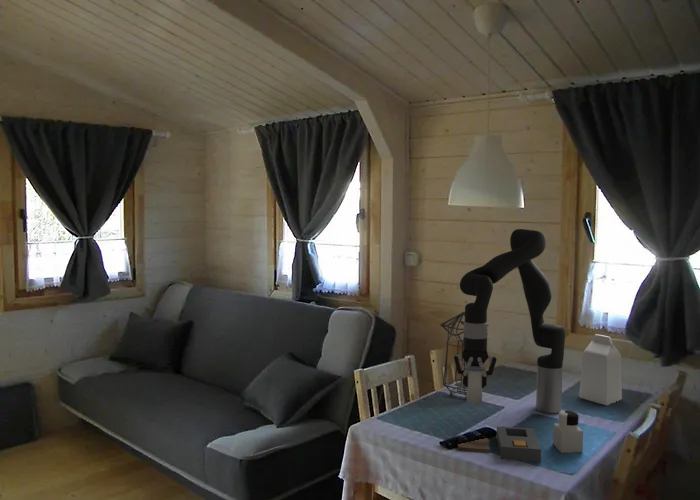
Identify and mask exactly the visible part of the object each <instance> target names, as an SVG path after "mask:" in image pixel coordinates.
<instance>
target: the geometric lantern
mask: <svg viewBox="0 0 700 500" xmlns="http://www.w3.org/2000/svg"><path fill="white" fill-rule="evenodd" d="M463 317H465V311H462V312H460V313H459V314H457V315H455V316H453V317H451V318H449V319H448V320H446V321H444V322H442V323H440V324H439V325H440V326H441V328H443V329H444V330H445V331H446V332H447V341H446V351H445V360H444V361H445V362H444V371H443V378H442V379H443V380H442V381H443V383H442V386H444V387H445V388H446V389H447V390H448V391H449V396H450V397H451V398H455V399H459V400H463V401H467V387H465V385H463V375H462V374H460V377H461V378H460V379H459V378H457V374H458V372H457V368H456V367H455V376H454V379H452V380H450V381H447V375H448V373H447V372H448V357H449V354H448V353H449V346H453V347H457V348H456V349H457V350H456V351H457V352H456V355H459V348H461V353H462V352H463V343H464V338H463V339H462V338H461V337H460V335H462V334H463V333H464V328H459V326H460V323H461V324H462V325H463V326H464V323H465V321H463V320H462V319H463ZM456 324H457V326H456ZM487 327H489V324H487ZM454 330H455V332H456V334H455V332H454ZM458 331H461V332H459V333H458ZM452 336H454V337H455V338H456V340H454V341H450V338H451V337H452ZM449 341H450V342H449ZM460 342H461V346H460ZM453 343H457V345H455V344H453ZM465 365H466V362H465V360H464V359H463V357H462V358H461V363H460V367H461V369H462V370H464V368H465ZM459 381H460V384H459V385H458V382H459ZM453 382H455V385H456V386H457V387H454V386H451V385H447V384H450V383H453ZM462 385H463V387H462ZM454 390H456V391H454ZM454 394H460V395H464V396H465V398H462V397H458V396H453V395H454Z"/></svg>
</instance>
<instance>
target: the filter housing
mask: <svg viewBox="0 0 700 500" xmlns="http://www.w3.org/2000/svg"><path fill="white" fill-rule="evenodd" d="M495 436H496V441H497V448H498V451H499V452H498V453H499V457H500V460H507V461H508V460H510V461H522V462H523V461H525V462H539V463H541V462H542V449H541V445H540V442H539V440H538V437H537V435H536V432H535V430H534V428H533V427H532V428H531V427H530V428H529V427H517V426H516V427H513V426H499V425H497V426H496V434H495ZM513 440H517V441H525V442H526V446H527V447H514V446H513Z"/></svg>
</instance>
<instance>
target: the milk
mask: <svg viewBox="0 0 700 500" xmlns="http://www.w3.org/2000/svg"><path fill="white" fill-rule="evenodd" d="M579 383H580V384H579V393H578V398H579V399H584V400H586V401H590V402H593V403H596V404H601V405H603V406H609V405H611V403H612V404H614V403H616V401H617V402H620V401H622V400H623V389H622V385H623V383H622V355H621V352H620V351H619V350H618V348H616V346H615V345H614V343H613V341H612V337H611V336H607V335H603V334H597V333H595V334H594V336H593V337H592V340H591V341H590V343H589V344H588V345H587V346H586V348H585V349H584V350H583V353H582V360H581V370H580V382H579ZM621 399H622V400H621ZM619 400H620V401H619Z"/></svg>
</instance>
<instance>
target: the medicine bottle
mask: <svg viewBox="0 0 700 500" xmlns="http://www.w3.org/2000/svg"><path fill="white" fill-rule="evenodd" d="M552 429H553V431H552V444H553V445H554V447H555V448H556V449H557V450H558V451H559V452H560V453H563V454H564V453H565V454H566V453H571V454H572V453H574V454H575V453H583V451H584V450H583V449H584V431H583V430H582V429H581V428H580V427H579V414H578V413H577V412H575V411H572V410H561V412H559V413H558V422H556V423H553V428H552Z"/></svg>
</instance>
